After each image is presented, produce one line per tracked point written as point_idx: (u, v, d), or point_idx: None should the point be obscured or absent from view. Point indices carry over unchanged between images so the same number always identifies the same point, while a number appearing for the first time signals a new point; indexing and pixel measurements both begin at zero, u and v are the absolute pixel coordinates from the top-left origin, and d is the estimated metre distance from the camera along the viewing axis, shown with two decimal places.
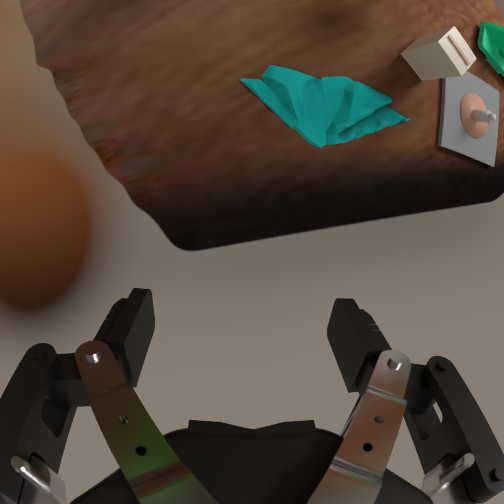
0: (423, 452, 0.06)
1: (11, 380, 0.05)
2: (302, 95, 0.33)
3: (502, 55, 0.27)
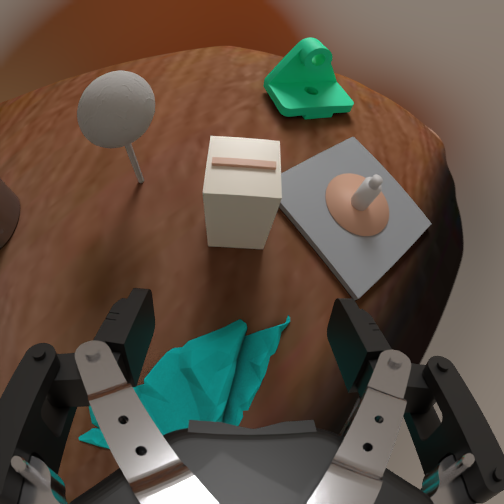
0: (422, 453, 0.06)
1: (11, 380, 0.05)
2: None
3: (314, 91, 0.37)
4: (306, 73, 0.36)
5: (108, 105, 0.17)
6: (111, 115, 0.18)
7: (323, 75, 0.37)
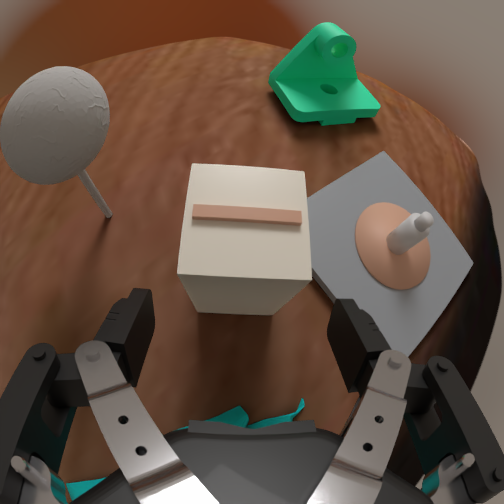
0: (422, 453, 0.06)
1: (11, 380, 0.05)
2: None
3: (332, 90, 0.29)
4: (322, 67, 0.28)
5: (28, 124, 0.09)
6: (34, 139, 0.10)
7: (342, 70, 0.29)
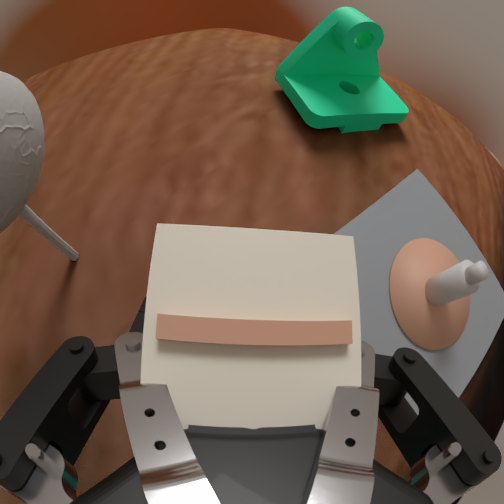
0: (403, 445, 0.07)
1: (42, 369, 0.06)
2: None
3: (353, 89, 0.24)
4: (341, 61, 0.22)
5: None
6: None
7: (364, 66, 0.23)
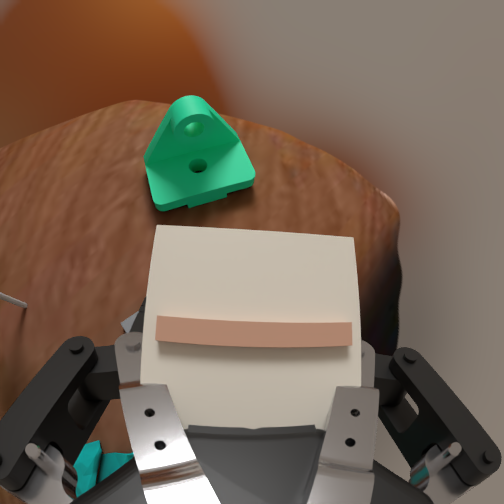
0: (403, 445, 0.07)
1: (43, 369, 0.06)
2: None
3: (205, 163, 0.33)
4: None
5: None
6: None
7: (217, 138, 0.32)
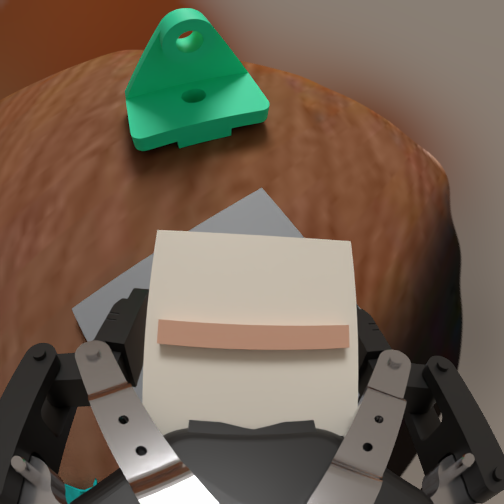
0: (422, 453, 0.06)
1: (11, 380, 0.05)
2: None
3: (203, 95, 0.23)
4: (186, 68, 0.21)
5: None
6: None
7: (219, 66, 0.22)
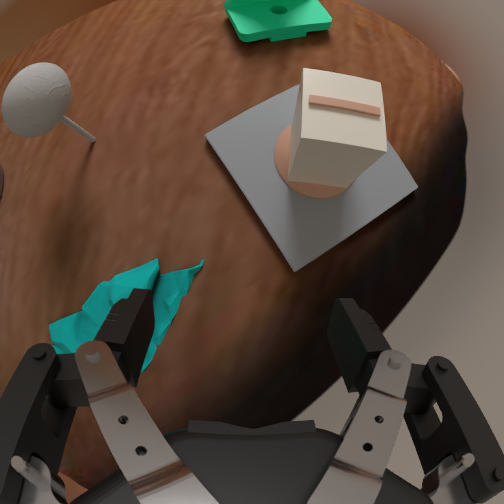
0: (422, 452, 0.06)
1: (11, 380, 0.05)
2: (79, 342, 0.27)
3: (284, 10, 0.26)
4: None
5: (15, 111, 0.14)
6: (20, 118, 0.15)
7: None
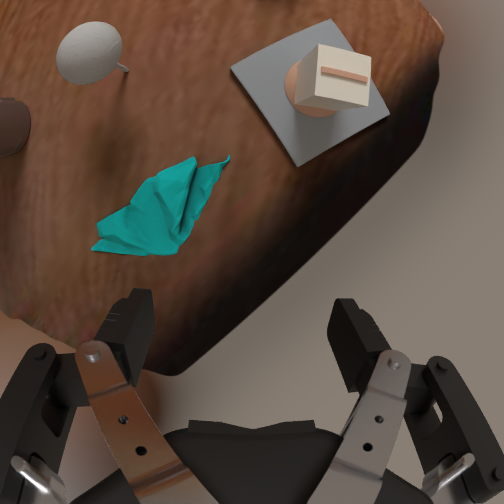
0: (423, 452, 0.06)
1: (11, 380, 0.05)
2: (129, 230, 0.38)
3: None
4: None
5: (81, 68, 0.18)
6: (86, 73, 0.19)
7: None
